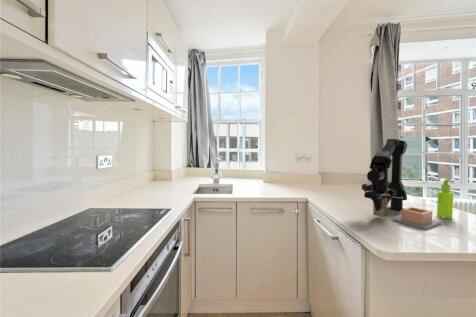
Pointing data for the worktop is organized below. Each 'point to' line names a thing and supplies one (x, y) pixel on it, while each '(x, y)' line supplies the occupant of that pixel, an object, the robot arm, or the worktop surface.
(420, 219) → the terracotta well
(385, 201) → the walnut block
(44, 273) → the worktop surface
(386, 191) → the robot arm
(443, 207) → the soap dispenser
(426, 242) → the worktop surface
